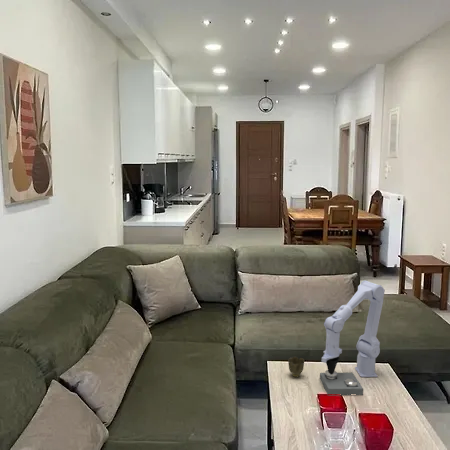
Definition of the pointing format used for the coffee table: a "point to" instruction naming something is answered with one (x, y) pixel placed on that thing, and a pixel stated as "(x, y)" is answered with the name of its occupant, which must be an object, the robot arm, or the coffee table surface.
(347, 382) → the knob
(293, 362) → the cup
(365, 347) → the robot arm
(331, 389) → the knob board
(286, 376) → the coffee table surface
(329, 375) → the knob
